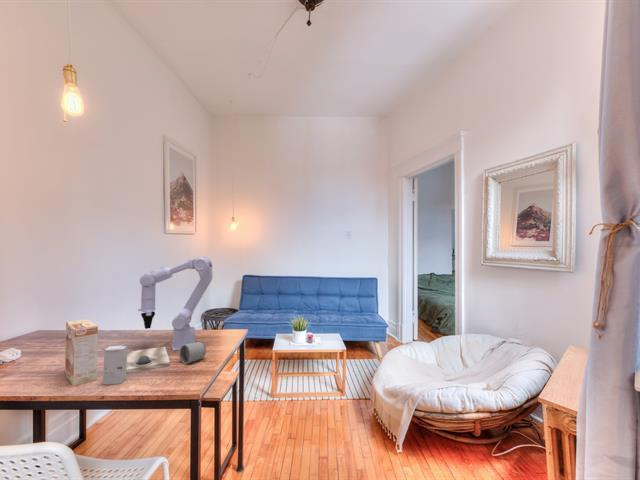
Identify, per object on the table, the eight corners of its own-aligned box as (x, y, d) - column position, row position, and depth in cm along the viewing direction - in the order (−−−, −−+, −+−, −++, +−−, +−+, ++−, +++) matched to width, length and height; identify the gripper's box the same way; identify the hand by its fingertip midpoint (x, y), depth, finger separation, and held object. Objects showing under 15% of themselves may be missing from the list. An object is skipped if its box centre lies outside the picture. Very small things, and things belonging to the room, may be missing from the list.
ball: (149, 367, 122) (149, 358, 124) (149, 362, 119) (150, 352, 122) (137, 368, 120) (138, 359, 122) (137, 363, 117) (138, 354, 120)
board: (165, 349, 140) (165, 346, 140) (169, 365, 121) (169, 362, 121) (118, 356, 130) (118, 353, 130) (115, 375, 112) (115, 371, 112)
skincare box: (101, 385, 104) (102, 350, 104) (107, 379, 108) (108, 345, 108) (122, 383, 105) (122, 348, 105) (127, 378, 109) (128, 344, 110)
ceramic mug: (207, 359, 128) (207, 341, 128) (189, 365, 121) (189, 346, 122) (192, 355, 134) (192, 337, 134) (174, 360, 127) (174, 342, 127)
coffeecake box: (63, 373, 112) (65, 321, 113) (87, 368, 118) (89, 318, 118) (71, 386, 103) (73, 329, 103) (97, 380, 108) (98, 325, 108)
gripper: (138, 297, 146) (137, 325, 146) (138, 302, 134) (137, 333, 133) (154, 296, 150) (154, 323, 149) (156, 301, 137) (156, 331, 137)
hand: (147, 328), depth 141 cm, fingers closed
